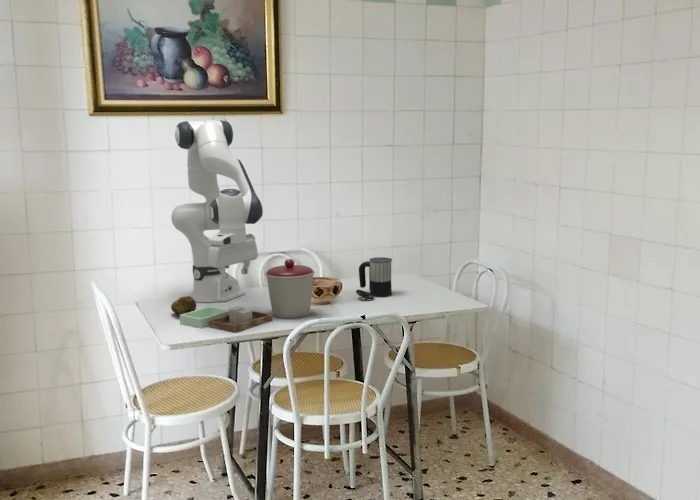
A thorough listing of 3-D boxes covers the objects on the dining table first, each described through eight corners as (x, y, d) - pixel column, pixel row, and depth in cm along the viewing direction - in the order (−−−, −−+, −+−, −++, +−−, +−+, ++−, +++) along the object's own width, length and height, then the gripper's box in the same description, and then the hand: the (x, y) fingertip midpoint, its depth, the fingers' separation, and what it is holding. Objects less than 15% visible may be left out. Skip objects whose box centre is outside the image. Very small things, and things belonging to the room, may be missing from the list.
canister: (260, 313, 272) (257, 257, 268) (306, 308, 279) (304, 253, 275) (275, 325, 255) (273, 265, 252) (323, 318, 262) (322, 260, 259)
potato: (193, 311, 278) (191, 290, 277) (198, 319, 266) (197, 297, 265) (170, 313, 275) (169, 292, 274) (175, 321, 264) (173, 300, 262)
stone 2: (244, 323, 256) (244, 309, 255) (252, 325, 253) (251, 310, 253) (236, 325, 253) (236, 311, 252) (244, 327, 250) (244, 313, 250)
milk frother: (393, 292, 301) (392, 256, 299) (391, 301, 286) (390, 264, 283) (358, 292, 303) (357, 257, 300) (355, 301, 287) (354, 264, 285)
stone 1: (237, 320, 260) (236, 306, 259) (245, 321, 258) (244, 308, 257) (229, 322, 257) (229, 308, 256) (237, 324, 255) (236, 310, 254)
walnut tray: (246, 317, 266) (246, 309, 266) (272, 322, 258) (272, 314, 258) (208, 329, 252) (208, 320, 252) (235, 335, 244) (235, 326, 244)
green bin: (210, 317, 268) (209, 306, 268) (231, 321, 262) (230, 310, 261) (180, 326, 257) (179, 314, 257) (201, 330, 251) (200, 319, 250)
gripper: (248, 232, 262) (249, 270, 265) (204, 240, 246) (206, 280, 249) (260, 233, 259) (262, 272, 261) (217, 241, 243) (219, 282, 245)
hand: (234, 276), depth 255 cm, fingers open, 8 cm apart
